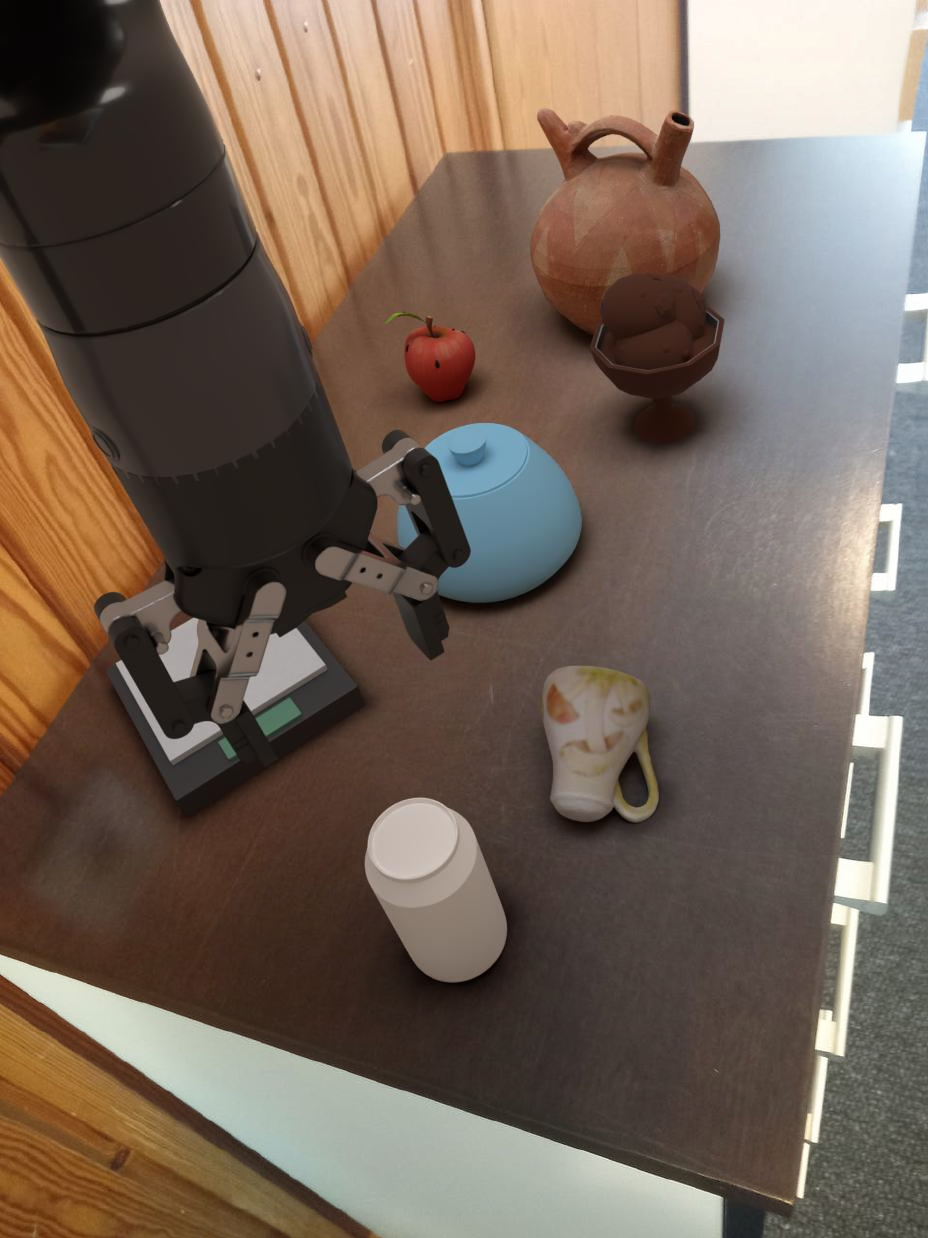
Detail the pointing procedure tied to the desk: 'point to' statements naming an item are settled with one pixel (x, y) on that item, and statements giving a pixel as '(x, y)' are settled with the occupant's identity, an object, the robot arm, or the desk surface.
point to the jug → (620, 214)
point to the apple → (438, 359)
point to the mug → (596, 740)
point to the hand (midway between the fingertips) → (347, 698)
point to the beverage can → (436, 889)
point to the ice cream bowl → (657, 347)
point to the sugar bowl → (502, 512)
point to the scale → (278, 698)
